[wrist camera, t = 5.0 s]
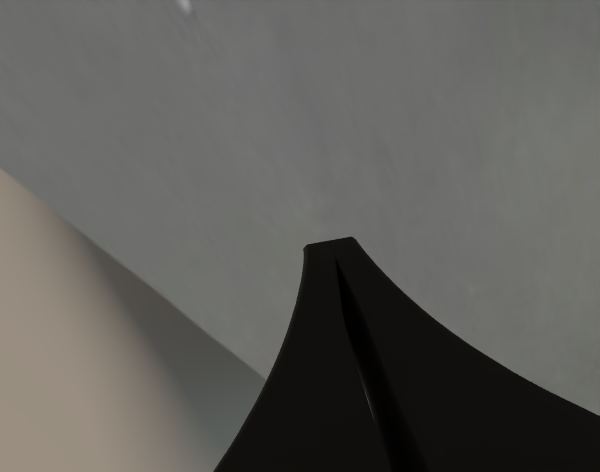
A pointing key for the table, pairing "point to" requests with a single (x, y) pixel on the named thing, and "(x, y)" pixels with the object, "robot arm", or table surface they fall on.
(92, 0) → the table surface
